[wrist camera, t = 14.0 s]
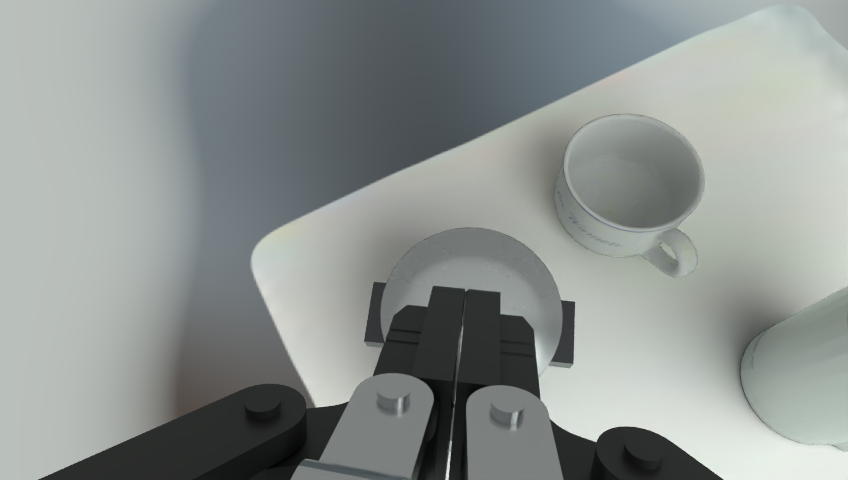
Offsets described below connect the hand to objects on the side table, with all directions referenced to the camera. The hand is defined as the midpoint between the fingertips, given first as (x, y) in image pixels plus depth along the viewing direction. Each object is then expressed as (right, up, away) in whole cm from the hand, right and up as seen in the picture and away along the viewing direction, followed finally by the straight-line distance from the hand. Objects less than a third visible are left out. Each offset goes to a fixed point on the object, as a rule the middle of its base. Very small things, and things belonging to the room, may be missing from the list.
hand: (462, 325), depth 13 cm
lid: (+2, -3, +27) cm, 28 cm away
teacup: (+16, +3, +40) cm, 43 cm away
